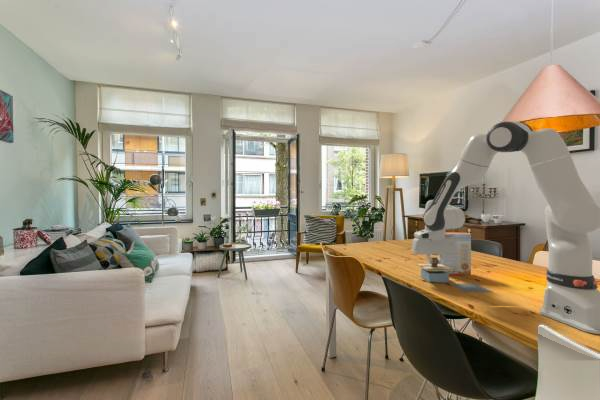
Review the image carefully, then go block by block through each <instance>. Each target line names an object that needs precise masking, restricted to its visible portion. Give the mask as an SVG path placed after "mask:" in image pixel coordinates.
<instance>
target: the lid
mask: <svg viewBox="0 0 600 400" xmlns="http://www.w3.org/2000/svg"><path fill="white" fill-rule="evenodd" d="M430 259H431V260H433V264H428V263H417V266H419V267H420V269H425V270H427V271H452V269H450V268H448V267H446V266H444V265H442V264H437V262H438V257H434V256H433V257H430Z"/></svg>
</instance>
